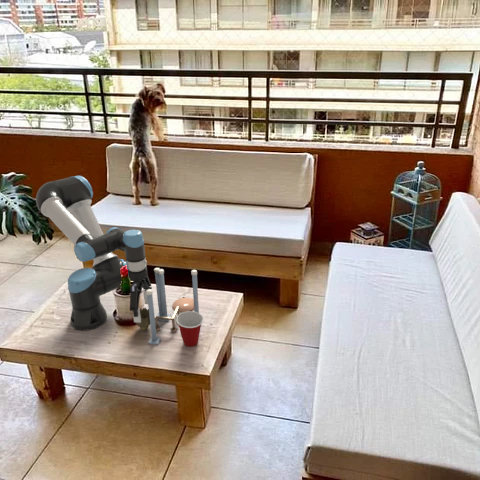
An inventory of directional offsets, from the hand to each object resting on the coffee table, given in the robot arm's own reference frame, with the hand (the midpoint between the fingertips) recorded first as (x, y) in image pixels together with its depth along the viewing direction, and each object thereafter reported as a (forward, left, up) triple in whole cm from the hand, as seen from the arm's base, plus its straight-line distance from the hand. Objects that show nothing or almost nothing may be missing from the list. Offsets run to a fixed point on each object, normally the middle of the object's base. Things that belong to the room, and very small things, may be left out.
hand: (143, 312), depth 186 cm
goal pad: (+13, +19, -8) cm, 24 cm away
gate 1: (+7, 0, -8) cm, 11 cm away
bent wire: (+9, +4, -8) cm, 13 cm away
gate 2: (+13, +9, -8) cm, 18 cm away
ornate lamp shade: (0, 0, -9) cm, 9 cm away
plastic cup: (+22, -7, -9) cm, 24 cm away
